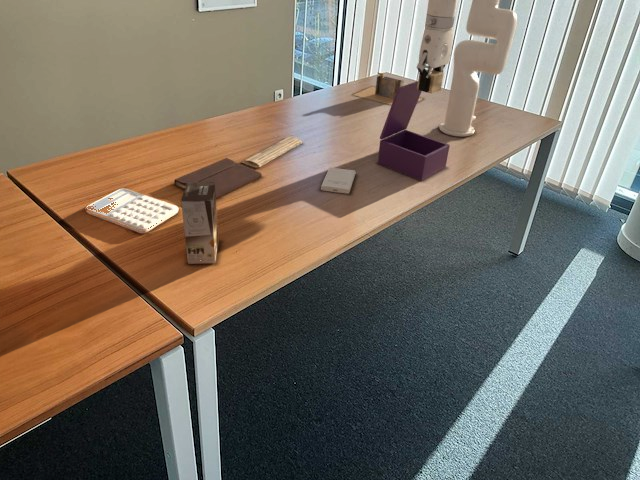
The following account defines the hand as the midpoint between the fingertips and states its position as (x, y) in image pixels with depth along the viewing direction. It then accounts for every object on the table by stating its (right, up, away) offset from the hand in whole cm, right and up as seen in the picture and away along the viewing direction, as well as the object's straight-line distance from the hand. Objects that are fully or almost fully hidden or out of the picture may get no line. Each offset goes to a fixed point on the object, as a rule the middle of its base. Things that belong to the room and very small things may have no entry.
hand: (429, 88), depth 152 cm
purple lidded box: (-2, -20, +15) cm, 25 cm away
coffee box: (-58, -47, -30) cm, 80 cm away
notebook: (-60, -27, 0) cm, 66 cm away
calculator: (-79, -37, -16) cm, 89 cm away
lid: (-6, -4, +9) cm, 11 cm away
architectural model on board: (-2, +17, +72) cm, 74 cm away
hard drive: (-26, -27, +3) cm, 38 cm away
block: (0, 0, 0) cm, 0 cm away
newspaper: (-47, -16, +18) cm, 52 cm away
